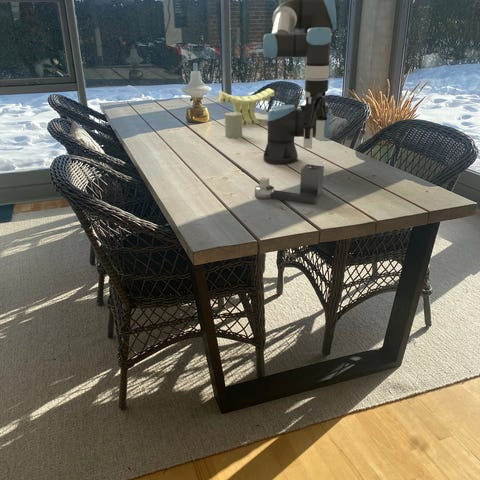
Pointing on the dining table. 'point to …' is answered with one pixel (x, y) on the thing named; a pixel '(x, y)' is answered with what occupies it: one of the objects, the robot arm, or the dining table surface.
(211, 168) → the dining table surface
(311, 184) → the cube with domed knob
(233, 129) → the can
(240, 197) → the dining table surface
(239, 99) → the slatted curved stool
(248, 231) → the dining table surface
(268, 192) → the ratchet
